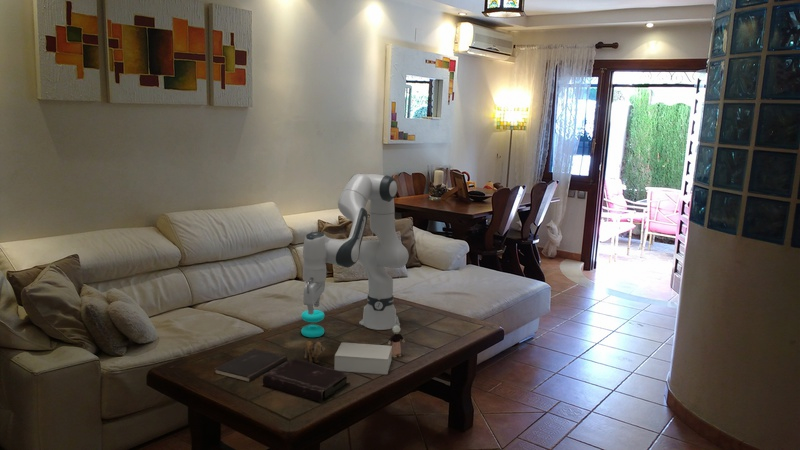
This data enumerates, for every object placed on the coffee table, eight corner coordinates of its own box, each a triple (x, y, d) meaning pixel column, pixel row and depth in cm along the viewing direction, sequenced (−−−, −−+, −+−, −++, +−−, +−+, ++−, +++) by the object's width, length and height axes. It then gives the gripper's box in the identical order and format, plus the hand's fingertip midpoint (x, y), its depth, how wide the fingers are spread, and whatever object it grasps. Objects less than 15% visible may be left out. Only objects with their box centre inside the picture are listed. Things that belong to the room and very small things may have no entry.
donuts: (300, 315, 265) (302, 308, 275) (299, 338, 267) (302, 330, 276) (323, 316, 265) (325, 309, 275) (323, 338, 267) (325, 330, 277)
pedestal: (341, 356, 248) (341, 342, 247) (391, 360, 246) (392, 345, 245) (334, 370, 234) (334, 355, 233) (387, 374, 232) (387, 359, 231)
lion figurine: (326, 365, 239) (326, 342, 237) (313, 367, 236) (313, 345, 234) (309, 352, 251) (309, 331, 249) (297, 354, 248) (297, 333, 246)
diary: (321, 405, 207) (321, 391, 206) (262, 387, 219) (262, 374, 218) (351, 384, 223) (351, 371, 222) (295, 369, 235) (295, 356, 234)
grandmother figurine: (398, 352, 255) (399, 322, 253) (405, 355, 252) (406, 325, 250) (385, 356, 249) (386, 326, 247) (391, 359, 247) (392, 328, 244)
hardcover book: (214, 374, 228) (214, 368, 227) (254, 354, 248) (254, 348, 248) (249, 383, 221) (249, 377, 221) (287, 361, 242) (287, 356, 241)
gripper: (316, 282, 226) (315, 319, 229) (328, 269, 246) (327, 303, 249) (299, 281, 227) (298, 317, 229) (312, 268, 247) (311, 302, 249)
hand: (313, 310), depth 239 cm, fingers open, 8 cm apart
